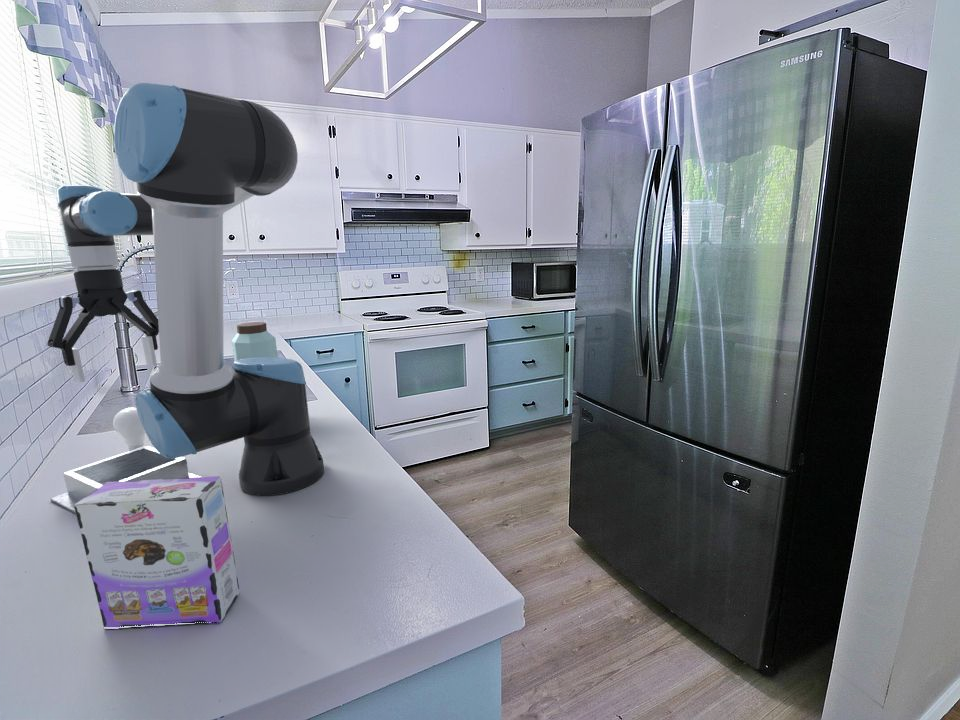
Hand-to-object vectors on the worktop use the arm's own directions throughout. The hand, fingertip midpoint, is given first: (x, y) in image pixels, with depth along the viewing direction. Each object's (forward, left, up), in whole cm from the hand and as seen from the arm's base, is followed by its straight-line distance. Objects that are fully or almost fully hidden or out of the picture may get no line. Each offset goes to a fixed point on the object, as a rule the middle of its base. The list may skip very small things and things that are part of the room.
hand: (117, 373), depth 106 cm
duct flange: (-17, +8, -19) cm, 26 cm away
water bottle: (-7, -28, -19) cm, 34 cm away
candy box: (-57, +22, -19) cm, 64 cm away
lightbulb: (-1, -1, -19) cm, 19 cm away
